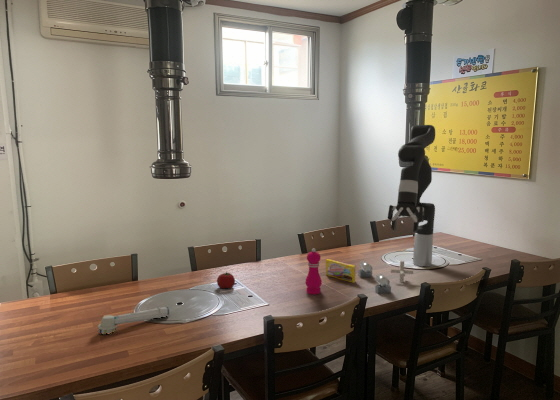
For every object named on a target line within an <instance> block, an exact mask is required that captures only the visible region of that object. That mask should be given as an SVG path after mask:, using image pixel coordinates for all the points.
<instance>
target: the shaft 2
mask: <svg viewBox="0 0 560 400" xmlns="http://www.w3.org/2000/svg"><path fill="white" fill-rule="evenodd" d="M374 279H375V281H376V282H377V283H378V284H375V286H374V287H375V289H374V290H375V293H376V294H378V295H383V294H384V295H385V294H391V293H392V286H391V285H390V279H388V278H387V277H386V276H384V275H383V274H382V273H379V274H377V275H376V276H375V278H374Z"/></svg>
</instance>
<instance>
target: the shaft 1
mask: <svg viewBox="0 0 560 400" xmlns="http://www.w3.org/2000/svg"><path fill="white" fill-rule="evenodd" d="M359 267H360V269H357V271H358V272H357V274H358V277H359V278H363V279H364V278H371V277H372V278H373V266H372V265H370V263H369V262H367V261H366V260H365V261H364V260H363V261H361V262H360V264H359Z"/></svg>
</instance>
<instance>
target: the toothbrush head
mask: <svg viewBox="0 0 560 400" xmlns="http://www.w3.org/2000/svg"><path fill="white" fill-rule="evenodd" d="M167 315H169V316H170V309H169V307H168V306H162V307H160V306H158V307H156V308H151V309H146V310H140V311H135V312H130V313H129V312H128V313H123V314H118V315H112V314H110V315H108V314H107V315H104V316H103V317H102V318H101V320H100V323H99V324H98V325H97V329H98V334H99V333H102V334H103V335H106V333H110V332H113V331H115V330H116V331H117V328H118V325H121V324H122V325H123V324H128V323H137V322H144V321H145V322H146V321H149V320H148V319H152V320H154V319H153V318H159V317H160V319H162V318H161V317H163V316H167ZM116 331H115V332H116Z"/></svg>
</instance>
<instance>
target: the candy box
mask: <svg viewBox="0 0 560 400" xmlns="http://www.w3.org/2000/svg"><path fill="white" fill-rule="evenodd" d="M325 275H326V276H328V277H332V278H335V279H339V280H342V281H345V282H346V281H347V282H349V283H353V284H354V283H355V282H356V265H354V264H350V263H345V262H342V261H337V260H334V259H330V258H327V259H325Z"/></svg>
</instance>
